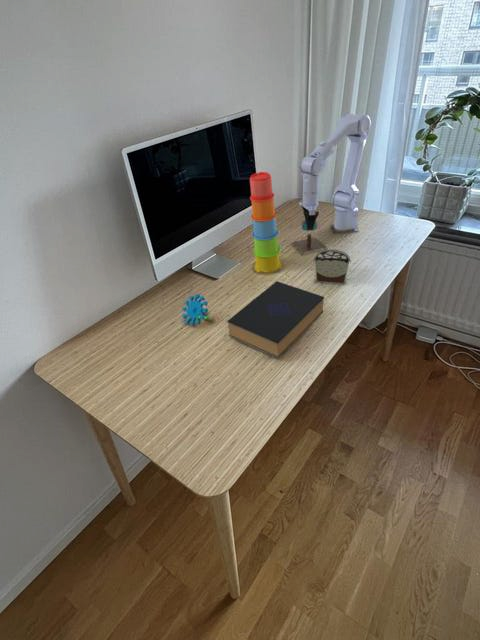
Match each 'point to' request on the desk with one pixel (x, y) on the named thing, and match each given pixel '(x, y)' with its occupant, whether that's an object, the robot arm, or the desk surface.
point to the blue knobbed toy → (195, 310)
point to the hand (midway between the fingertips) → (309, 225)
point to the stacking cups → (264, 223)
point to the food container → (331, 266)
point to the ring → (304, 226)
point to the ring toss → (309, 244)
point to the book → (276, 318)
